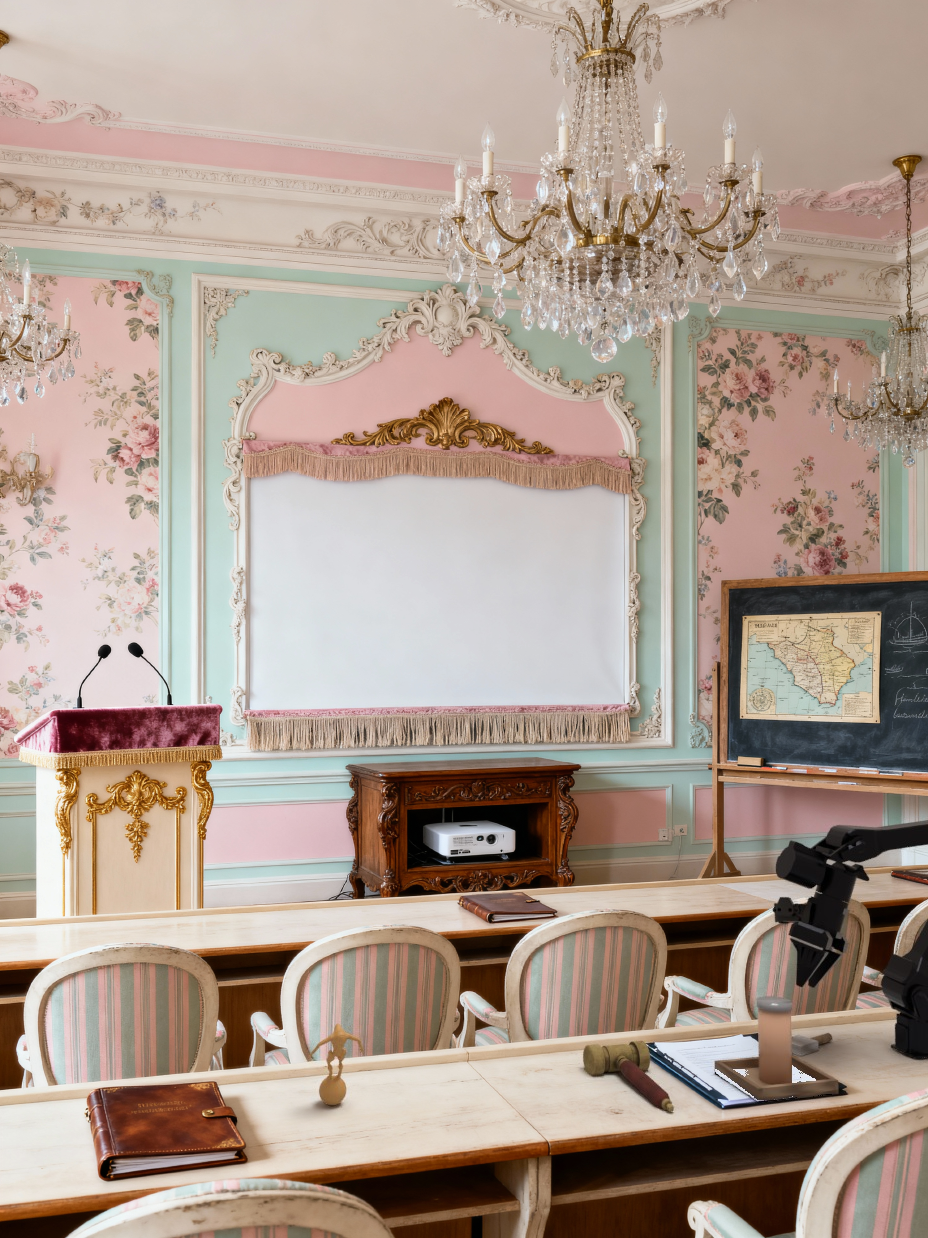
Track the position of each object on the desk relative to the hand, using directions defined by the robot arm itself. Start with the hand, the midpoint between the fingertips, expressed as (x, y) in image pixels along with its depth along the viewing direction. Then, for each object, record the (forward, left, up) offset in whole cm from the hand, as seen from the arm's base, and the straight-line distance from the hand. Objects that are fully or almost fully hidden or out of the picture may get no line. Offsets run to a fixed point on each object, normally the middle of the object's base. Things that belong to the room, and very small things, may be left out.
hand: (805, 986), depth 177 cm
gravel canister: (+12, +9, -11) cm, 19 cm away
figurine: (+80, +1, -12) cm, 81 cm away
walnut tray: (+12, +9, -12) cm, 19 cm away
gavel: (+34, +6, -12) cm, 36 cm away
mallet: (-4, -5, -12) cm, 13 cm away
